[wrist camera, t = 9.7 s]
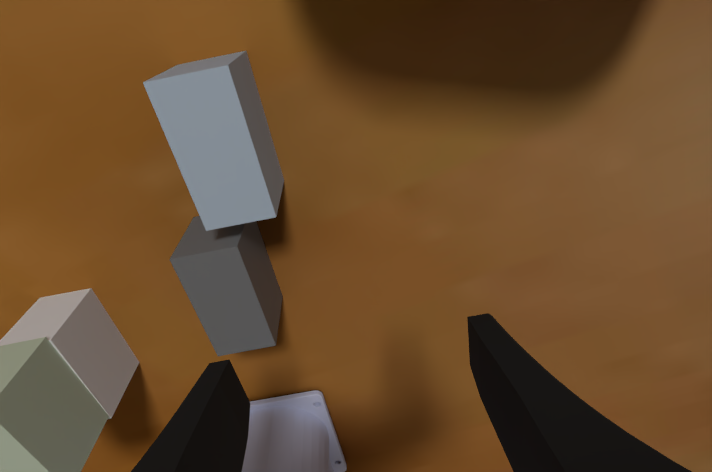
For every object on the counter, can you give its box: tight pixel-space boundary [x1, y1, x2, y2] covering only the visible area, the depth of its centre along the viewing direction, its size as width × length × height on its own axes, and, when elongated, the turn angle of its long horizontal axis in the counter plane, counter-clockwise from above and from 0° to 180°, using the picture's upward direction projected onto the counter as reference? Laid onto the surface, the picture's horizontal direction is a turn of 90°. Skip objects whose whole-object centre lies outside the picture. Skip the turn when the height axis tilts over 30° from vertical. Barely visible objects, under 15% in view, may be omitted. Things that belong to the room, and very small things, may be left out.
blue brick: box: [143, 51, 284, 231], centre depth 17 cm, size 6×3×4 cm, turn 10°
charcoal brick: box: [170, 216, 283, 356], centre depth 21 cm, size 6×3×4 cm, turn 10°
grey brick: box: [0, 288, 139, 419], centre depth 23 cm, size 6×3×4 cm, turn 10°
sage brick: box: [0, 337, 109, 472], centre depth 19 cm, size 6×3×4 cm, turn 11°
